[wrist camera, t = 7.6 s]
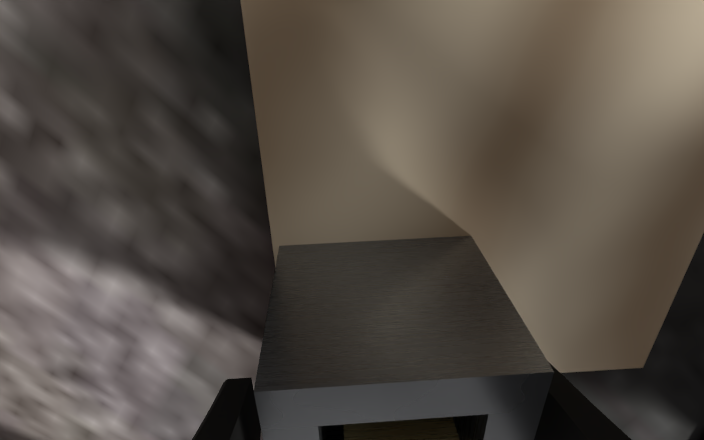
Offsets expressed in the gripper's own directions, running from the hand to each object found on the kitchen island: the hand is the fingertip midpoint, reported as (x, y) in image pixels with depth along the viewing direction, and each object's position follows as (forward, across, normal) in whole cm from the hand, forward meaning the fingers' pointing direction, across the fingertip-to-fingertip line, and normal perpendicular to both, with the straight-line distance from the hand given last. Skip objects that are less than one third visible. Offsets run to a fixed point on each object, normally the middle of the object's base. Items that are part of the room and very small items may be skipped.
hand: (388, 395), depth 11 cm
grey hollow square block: (+3, 0, 0) cm, 3 cm away
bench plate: (+4, -4, -4) cm, 6 cm away
